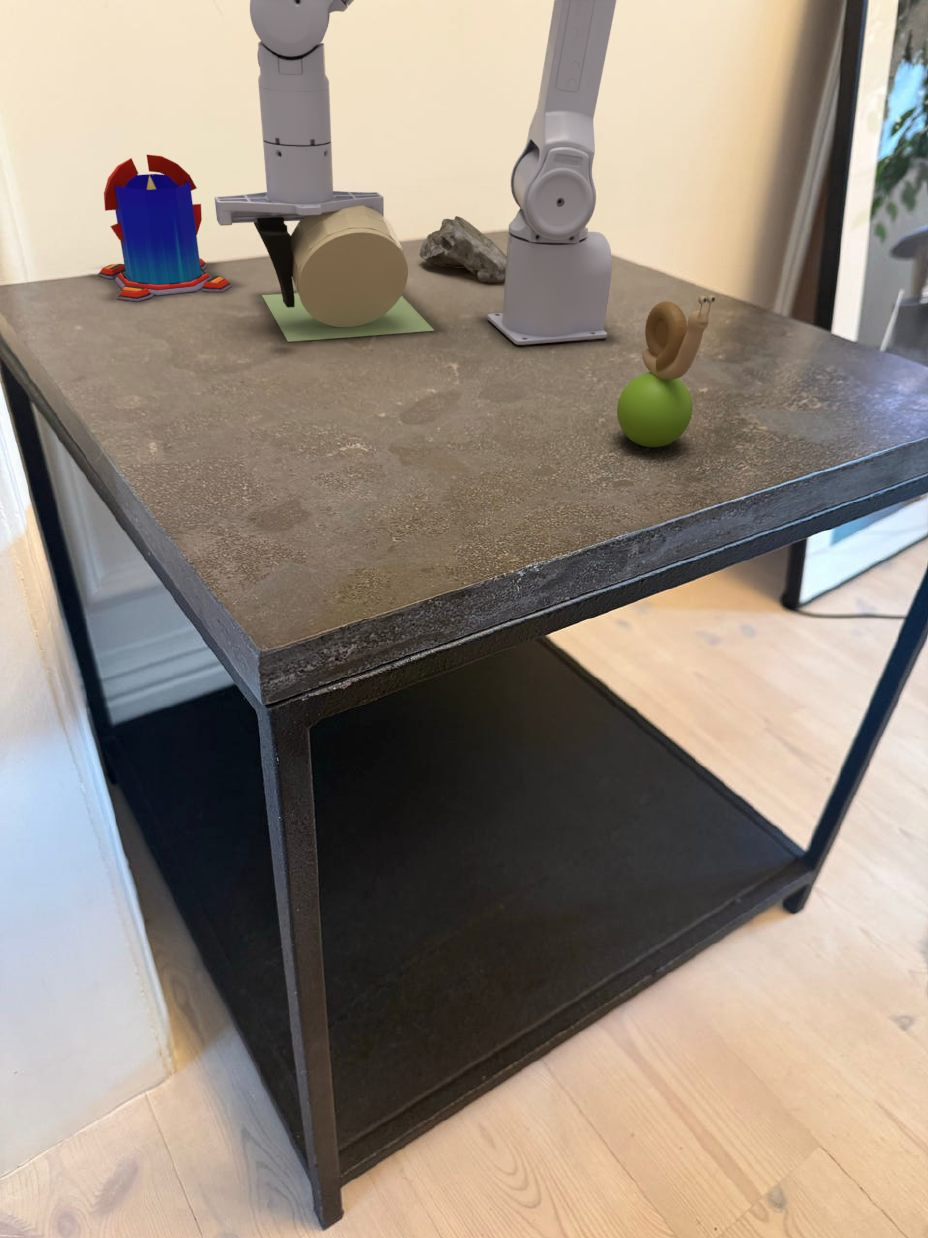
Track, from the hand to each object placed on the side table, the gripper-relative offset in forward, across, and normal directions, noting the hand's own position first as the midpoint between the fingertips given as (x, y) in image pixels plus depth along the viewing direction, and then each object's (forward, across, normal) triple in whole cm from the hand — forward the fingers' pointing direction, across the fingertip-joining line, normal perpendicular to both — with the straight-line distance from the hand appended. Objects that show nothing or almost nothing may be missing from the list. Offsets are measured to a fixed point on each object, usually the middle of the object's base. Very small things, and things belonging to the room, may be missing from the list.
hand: (306, 303), depth 85 cm
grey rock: (+2, +21, +15) cm, 26 cm away
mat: (+2, +4, +3) cm, 6 cm away
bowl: (-3, +4, -3) cm, 6 cm away
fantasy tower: (+2, -12, +17) cm, 21 cm away
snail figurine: (+2, +19, -32) cm, 37 cm away
